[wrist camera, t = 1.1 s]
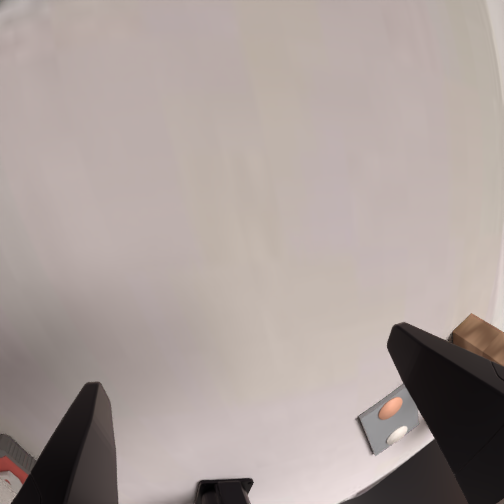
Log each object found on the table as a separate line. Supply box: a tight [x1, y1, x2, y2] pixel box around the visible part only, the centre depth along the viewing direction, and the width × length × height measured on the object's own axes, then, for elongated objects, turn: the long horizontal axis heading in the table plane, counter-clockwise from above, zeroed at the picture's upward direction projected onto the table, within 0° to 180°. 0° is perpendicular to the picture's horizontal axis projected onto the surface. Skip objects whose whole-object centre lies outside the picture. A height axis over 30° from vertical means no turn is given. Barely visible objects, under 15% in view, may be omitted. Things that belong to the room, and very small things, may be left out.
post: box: [453, 313, 504, 366], centre depth 30 cm, size 4×6×11 cm, turn 27°
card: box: [358, 384, 419, 456], centre depth 35 cm, size 8×12×1 cm, turn 27°
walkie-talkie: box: [0, 434, 36, 494], centre depth 23 cm, size 9×4×20 cm
